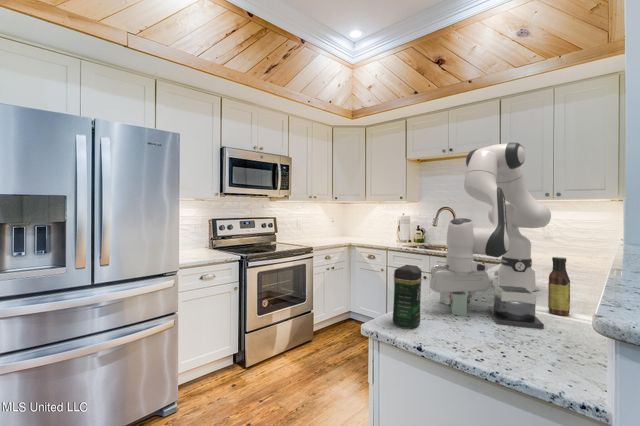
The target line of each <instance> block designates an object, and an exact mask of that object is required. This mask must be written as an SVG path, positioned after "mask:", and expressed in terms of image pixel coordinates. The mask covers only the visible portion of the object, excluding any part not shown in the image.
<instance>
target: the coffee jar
mask: <svg viewBox="0 0 640 426" xmlns="http://www.w3.org/2000/svg"><path fill="white" fill-rule="evenodd" d="M393 284H394V285H393V286H394V287H393V307H392V323H393V325H395V326H397V327H399V328H403V329H407V328H408V329H414V328H416V327H417V326H418V325H420V322H421V301H422V300H421V297H422V296H421V295H422V294H421V293H422V291H421V290H422V269H421V268H420V267H419V266H418V265H414V264H413V265H412V264H405V265H402V266H400V267H397V268H395V269H394V273H393Z"/></svg>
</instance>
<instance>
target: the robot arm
mask: <svg viewBox="0 0 640 426" xmlns="http://www.w3.org/2000/svg"><path fill="white" fill-rule="evenodd" d="M525 158H526V153H525V149H524V147H523V145H522V144H520V142H507V143H499V144H498V143H497V144H492V145H489V146H485V147H482V148H476V149H473V150H470V151H469V153H468V154H467V155H466V159H465V165H466V171H465V175H464V181H463V187H464V190H465V192H466V193H467V194H468V195H469V196H470V197H471V198H472V199H475V200H477V201H480V202H483V203H486V204H488V205H489V206H491V207H490V208H489V210H488V213H487V218H488V220H489V222H490V223H491V224H492V226H491V227H488V228H487V227H486V228H485V227H475V226H474V224H473V220H472V219H469V218H461V217H460V218H459V217H458V218H453V219H451V220H449V222H448V227H447V232H446V246H447V252H446V256H445V257H446V258H445V259H446V261H445V264H436V265H434V266H433V267H432V268H431V269H430V276H431V277H430V280H429V281H430V283H429V288H430V290H431V291H433V292H434V293H440V292H443V294H444V296H445V298H446V303H447V304H450V305H451V304H452V299H451V298H449V296H448V295H450V292H465V293H466V292H467V294H468V295H467V305H471V304H472V299H473V298H474V297H475V295H476V292H487V291H488V289H489V288H490V282H489V281H490V278H489V274H488V272H487V271H488V268H489V267H488V265H486V264H484V263H482V262H478V261H476V260H474V258H475V256H474V255H483V256H488V257H493V258H500V259H501V260H500V265H499V268H498V270H494V271H493V272H494V273H493V275H494V276H495V278H492V287H494V288H495V285H505V286H518V287H527V288H528V289H530V290H531V291H532V292H534V291H540V287H538V286H537V284H536V282H537V281H536V272H535V270H534V269H533V268H532V266H533V259H532V257H531V256H532V243H531V240H530V238H528V237H526V236H524V235H523V234H522V233H521V232H520V230H519V228H520V229H521V228H522V229H523V228H524V229H539V228H545V227H546V226H548V224H550V221H551V219H552V213H551V210H550V209H549V207H547V205H545V204H543V203H541V202H539V201H538V200H536V199H535V198H534V197H533V196H532V195H531V193H530V191H529V190H528V188H527V184H526V183H525V178H524V175H523V170H522V168H521V166H522V165H523V164H525V160H526V159H525Z"/></svg>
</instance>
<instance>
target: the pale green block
mask: <svg viewBox="0 0 640 426" xmlns="http://www.w3.org/2000/svg"><path fill="white" fill-rule="evenodd" d="M467 297H468V295H467V293H466V292H451V299H452V304H450V311H451V314H452V315H455V316H465V317H467V313H468V312H467V311H468V309H467V306H468V304H467Z"/></svg>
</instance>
